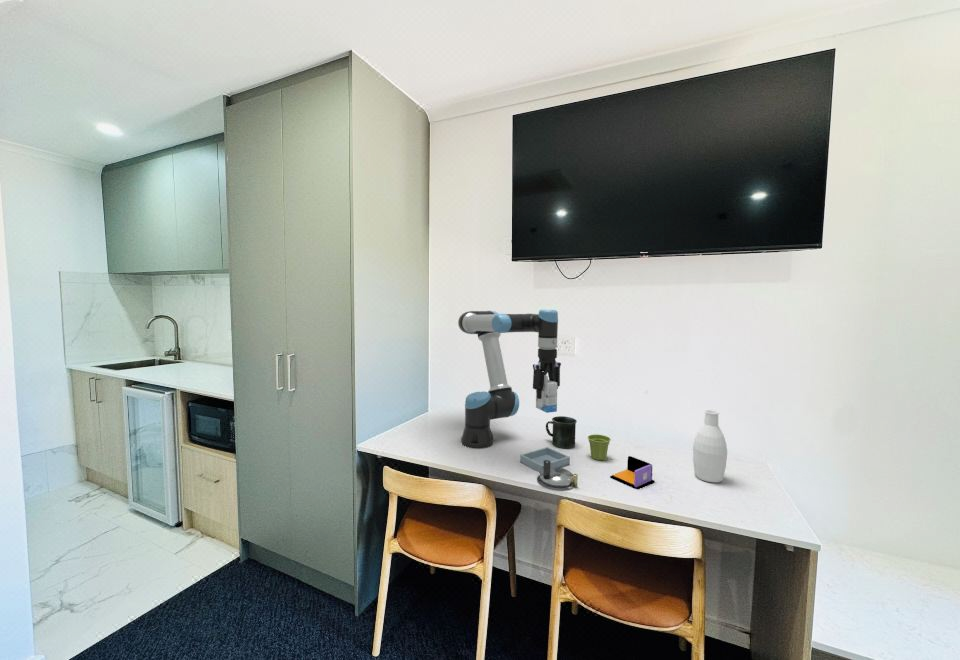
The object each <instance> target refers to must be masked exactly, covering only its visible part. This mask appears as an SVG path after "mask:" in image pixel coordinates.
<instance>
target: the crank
mask: <svg viewBox="0 0 960 660" xmlns="http://www.w3.org/2000/svg"><path fill="white" fill-rule="evenodd" d="M550 463H551V462H550V461H549V460H544V469H542V470H541V471H540V473H539V475H540V480H541V482H542V483H544V484H546V485H548V486H551V487H557V488H564V487H568V486H571V485H572V484H573V478H574V474H573V472H571V471H570V470H567V469H565V468H563V467H562V468H558V467H550Z"/></svg>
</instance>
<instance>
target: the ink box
mask: <svg viewBox="0 0 960 660" xmlns="http://www.w3.org/2000/svg"><path fill="white" fill-rule="evenodd" d="M542 391H544V407H540V406H537V403H538V398H537V390H535V408H536V409H537V410H540V411H542V412H545V413H547V414H548V413H555V412H557V411H558V389H557V382H553V381H550V380H549V376H548V374H546V375H544V385H543V389H542Z"/></svg>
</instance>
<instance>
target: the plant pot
mask: <svg viewBox="0 0 960 660" xmlns="http://www.w3.org/2000/svg"><path fill="white" fill-rule="evenodd" d="M587 439H588V442H589V449H590V457H591V459H593V460H597V461H606V459H607V455H608V450H609V445H610V442H611V441H612V439H611V437H610V436H608V435H603V434H598V433H597V434H590V435H588V436H587Z"/></svg>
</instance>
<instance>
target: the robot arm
mask: <svg viewBox="0 0 960 660" xmlns="http://www.w3.org/2000/svg"><path fill="white" fill-rule="evenodd" d="M558 315H559V312H558V311H557V309H539V311H538V313H499V312H497V311H493V310H482V311H481V310H469V311H465V312H464V313H462V314H461V315H460V316H459V318H458V323H457V325H458V327H459V329H460V330H461V331H462V332H463V333H465V334H469V335H477V338H478V339H477V340H479V341H481V344H482V345H481V346H482V349H483V354H484V359H485V366H486V370H487V376H488V382H489V389H488V391H475V392H471V393H469V394H468V395H467V396H466V397H465V401H464V402H465V403H464V408H465V409H464V414H465V415H464V419H465V420H464V429H463V432H462V435H461V439H460V443H462V444H461V445H462V446H463V445H464V446H463V447H465V446H466V448H468V447H469V449H475V450H478V449H479V450H480V449H482V450H483V449H488V448H491V447H493V445H494V443H495V442H494V435H493V433H492V429H491V420H497V419H503V418H509V417H513V416H515V415H516V414H517V413H518V411H519V408H520V398H519V395H518V394H517V392H516V391H513V389H512V387H511V386H510V385H509V384H508V379H507V375H506V369H505V364H504V360H503V359H504V358H503V353H502V349H501V344H500V340H499V339H500V337H501V334H506V333H508V334H509V333H537V335H538V336H537V338H538V340H537V342H538V343H537V346H538V347H537V348H538V349H537V357H538V361H537V362H538V363H536V364H532V370H533V375H532V379H533V380H532V389H533V390H535V391H536V390H537V398H538V403H537V406H540V407H544V391H542V389H543V385H544V375H547V376H548V380H550V381H553V382H557V390H558V389H559V387H560V386H561V365H562V363H561V362H558V361H556V359H557V357H558V350H557V349H556V348H558V329H559V327H558V326H559V325H558V324H559V316H558Z"/></svg>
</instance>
